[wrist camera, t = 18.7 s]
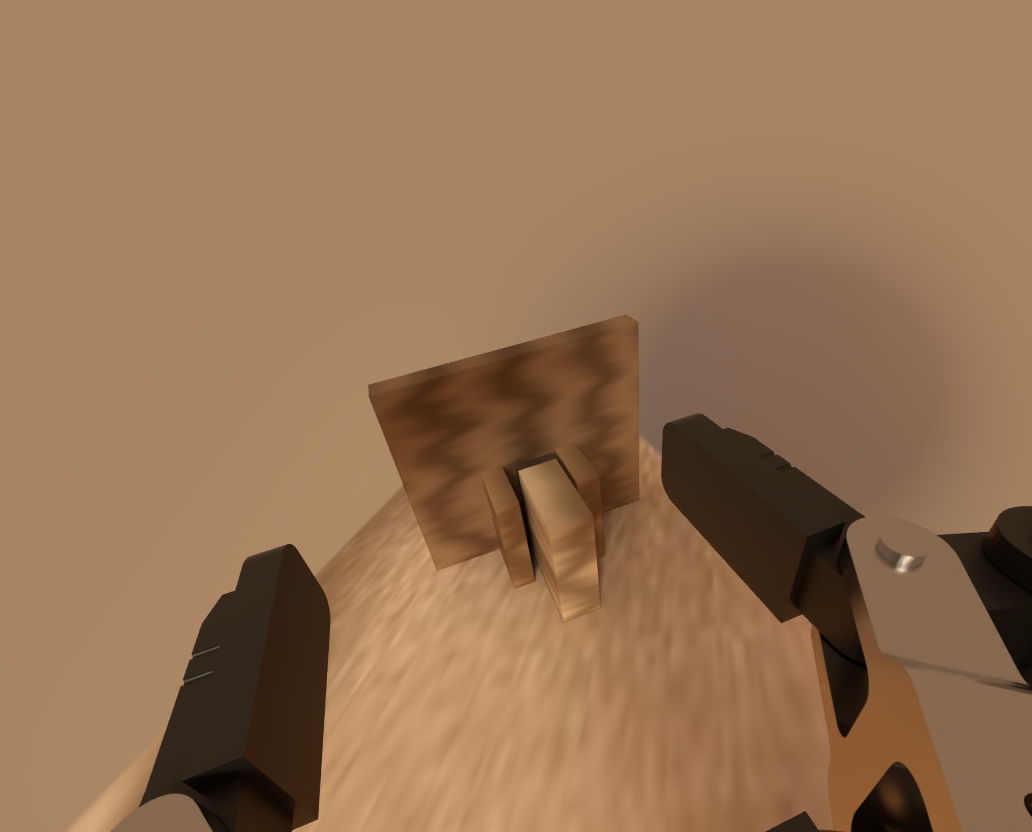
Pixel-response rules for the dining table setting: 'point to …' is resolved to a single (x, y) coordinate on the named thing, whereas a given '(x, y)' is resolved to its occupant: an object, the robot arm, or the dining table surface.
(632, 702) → the dining table surface
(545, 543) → the rail end
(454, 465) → the zigzag wooden panel
